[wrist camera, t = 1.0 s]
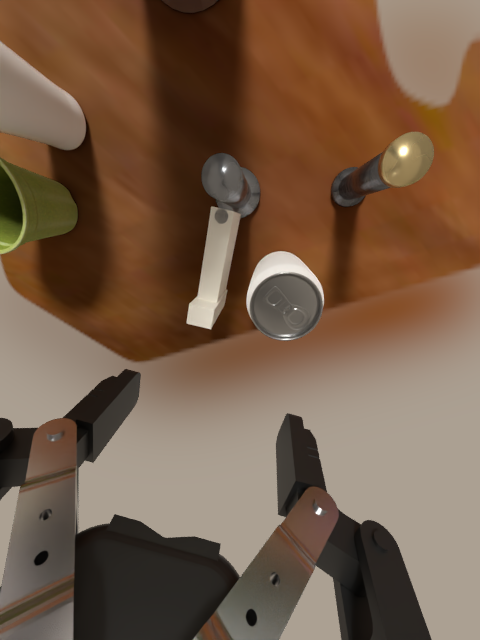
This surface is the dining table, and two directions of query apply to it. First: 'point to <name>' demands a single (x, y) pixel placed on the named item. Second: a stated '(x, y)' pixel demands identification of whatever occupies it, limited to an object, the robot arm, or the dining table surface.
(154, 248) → the dining table surface
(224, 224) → the gate
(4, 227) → the plant pot
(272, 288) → the can
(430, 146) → the post
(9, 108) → the white tapered cup
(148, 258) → the dining table surface
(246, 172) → the hinge post
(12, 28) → the dining table surface
